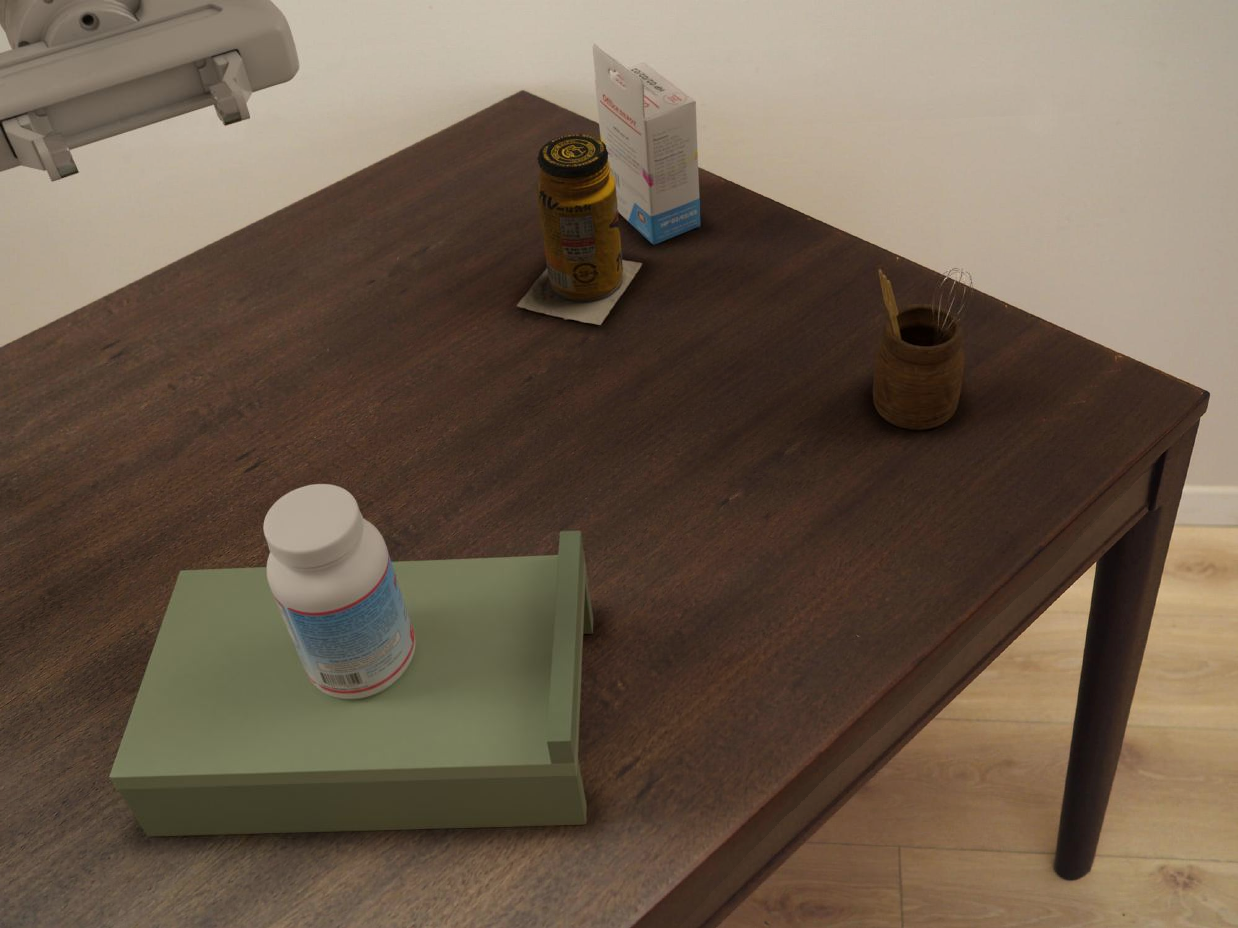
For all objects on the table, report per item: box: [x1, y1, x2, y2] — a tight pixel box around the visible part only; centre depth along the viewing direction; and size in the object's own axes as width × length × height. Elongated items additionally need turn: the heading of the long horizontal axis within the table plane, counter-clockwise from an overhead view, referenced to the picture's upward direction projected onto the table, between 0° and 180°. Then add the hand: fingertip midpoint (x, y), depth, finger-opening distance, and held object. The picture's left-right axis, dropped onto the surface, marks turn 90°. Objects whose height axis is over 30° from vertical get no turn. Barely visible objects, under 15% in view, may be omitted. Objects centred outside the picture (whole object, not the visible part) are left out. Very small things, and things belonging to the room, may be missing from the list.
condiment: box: [516, 133, 643, 326], centre depth 98 cm, size 7×8×12 cm
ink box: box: [592, 43, 701, 246], centre depth 104 cm, size 8×5×15 cm, turn 29°
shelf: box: [109, 530, 594, 837], centre depth 71 cm, size 24×14×8 cm, turn 89°
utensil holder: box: [872, 267, 974, 431], centre depth 85 cm, size 6×6×12 cm
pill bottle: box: [263, 483, 415, 699], centre depth 65 cm, size 6×6×11 cm
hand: (149, 137), depth 68 cm, fingers open, 8 cm apart
